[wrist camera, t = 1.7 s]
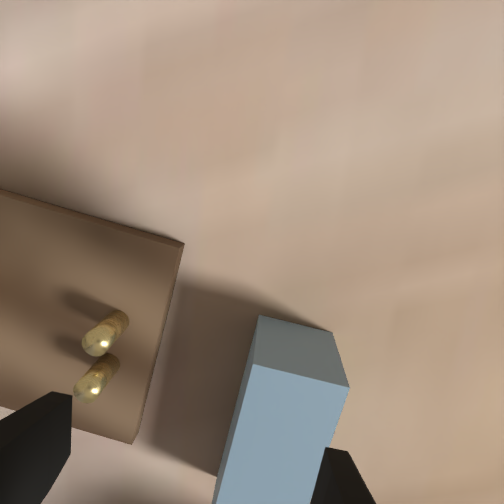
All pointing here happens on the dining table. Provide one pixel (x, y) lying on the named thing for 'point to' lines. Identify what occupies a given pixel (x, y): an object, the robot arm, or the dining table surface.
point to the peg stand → (81, 312)
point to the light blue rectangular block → (282, 416)
